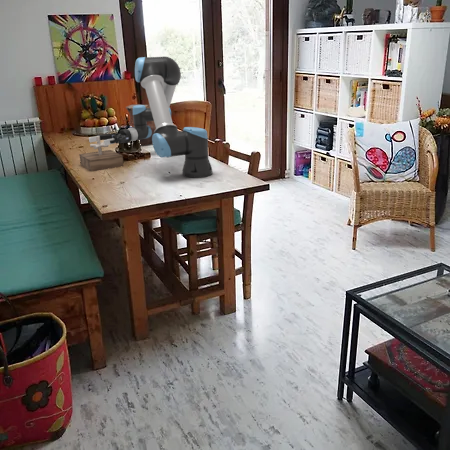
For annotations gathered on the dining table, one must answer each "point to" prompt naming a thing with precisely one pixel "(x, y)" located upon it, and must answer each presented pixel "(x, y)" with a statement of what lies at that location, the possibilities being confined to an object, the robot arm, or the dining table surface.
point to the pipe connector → (98, 145)
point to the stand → (101, 160)
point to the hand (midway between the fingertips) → (96, 141)
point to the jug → (149, 123)
